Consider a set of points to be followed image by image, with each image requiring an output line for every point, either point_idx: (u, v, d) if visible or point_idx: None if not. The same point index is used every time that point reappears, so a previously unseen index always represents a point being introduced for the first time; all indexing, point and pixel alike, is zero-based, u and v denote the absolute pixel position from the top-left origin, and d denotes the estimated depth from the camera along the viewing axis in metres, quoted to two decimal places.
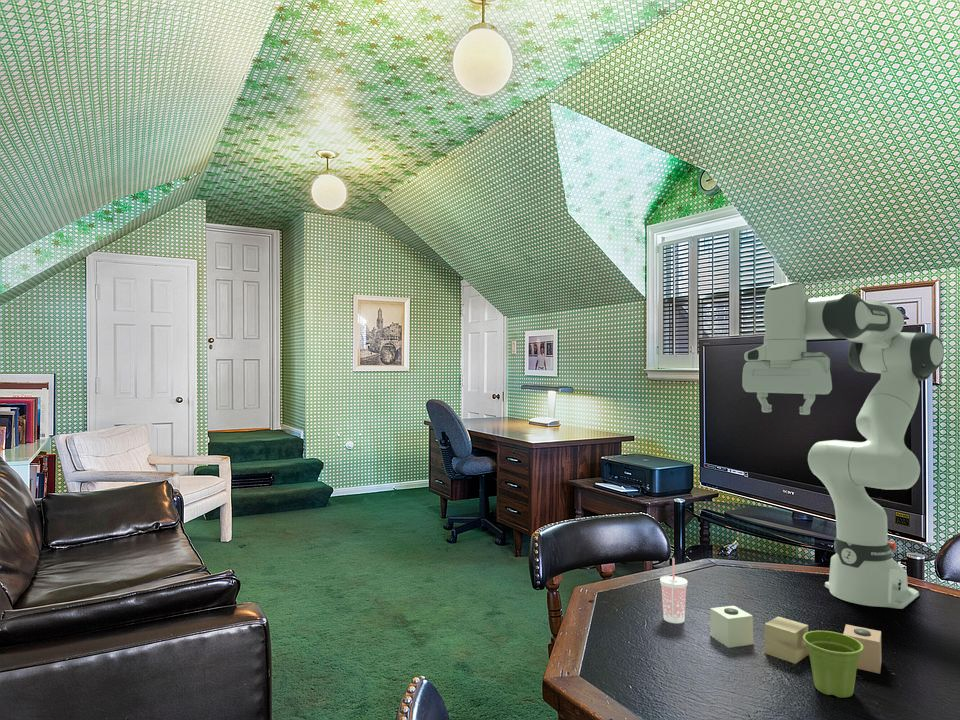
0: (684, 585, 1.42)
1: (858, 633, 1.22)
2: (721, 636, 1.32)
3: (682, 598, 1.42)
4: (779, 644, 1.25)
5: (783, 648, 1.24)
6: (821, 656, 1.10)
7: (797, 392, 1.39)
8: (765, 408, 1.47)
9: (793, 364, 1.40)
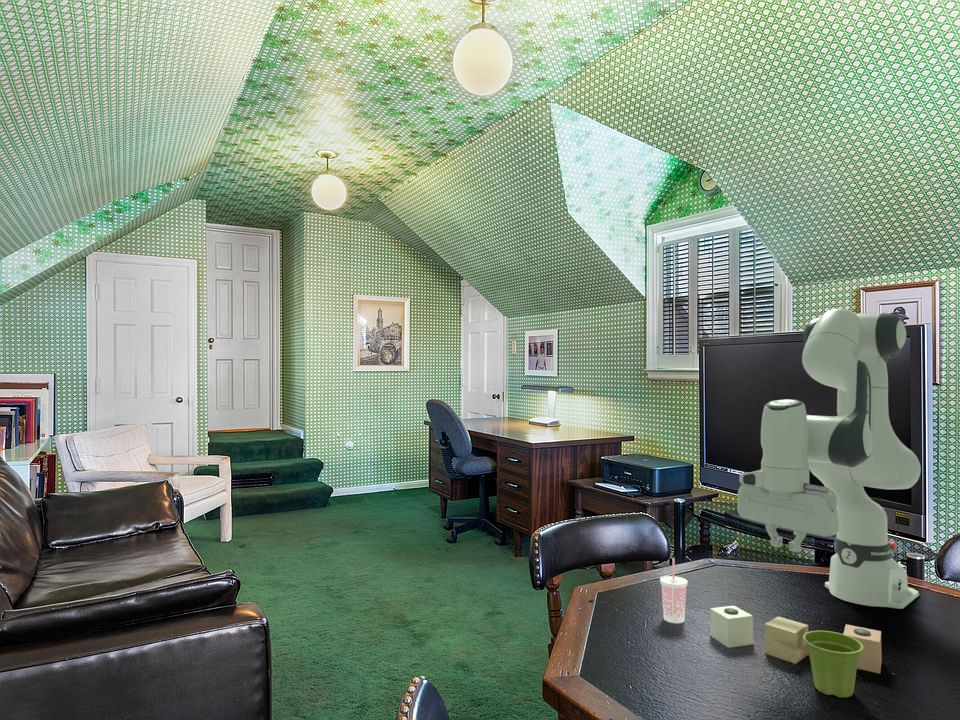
0: (684, 585, 1.42)
1: (858, 633, 1.22)
2: (721, 636, 1.32)
3: (682, 598, 1.42)
4: (779, 644, 1.25)
5: (783, 648, 1.24)
6: (821, 656, 1.10)
7: (799, 529, 1.23)
8: (775, 542, 1.28)
9: (794, 497, 1.23)
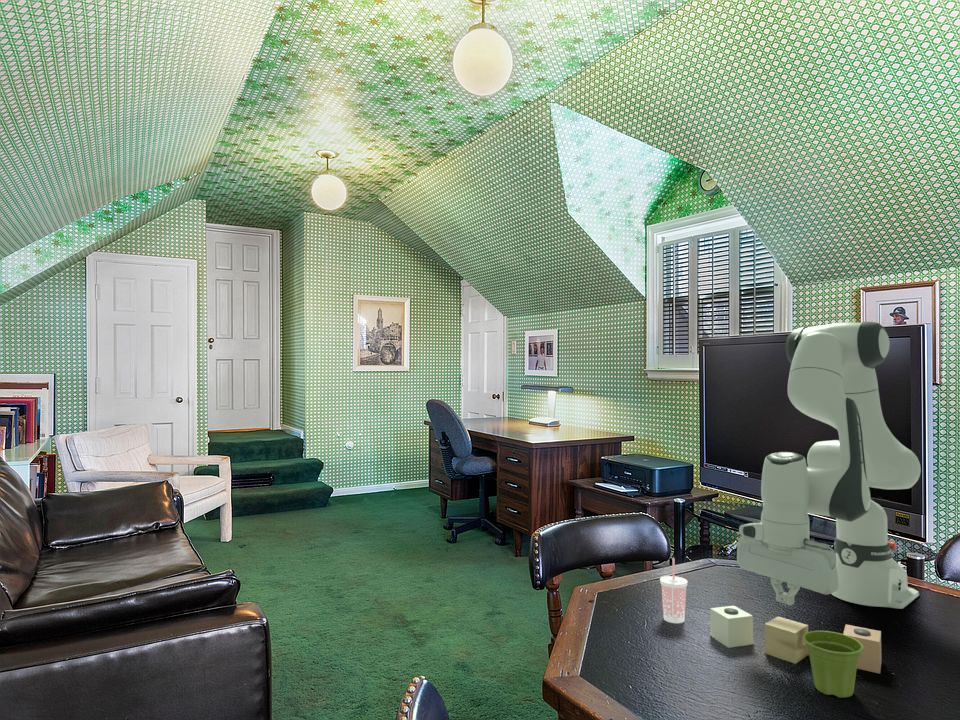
0: (684, 585, 1.42)
1: (858, 633, 1.22)
2: (721, 636, 1.32)
3: (682, 598, 1.42)
4: (779, 644, 1.25)
5: (783, 648, 1.24)
6: (821, 656, 1.10)
7: (799, 585, 1.22)
8: (780, 598, 1.27)
9: (794, 552, 1.23)
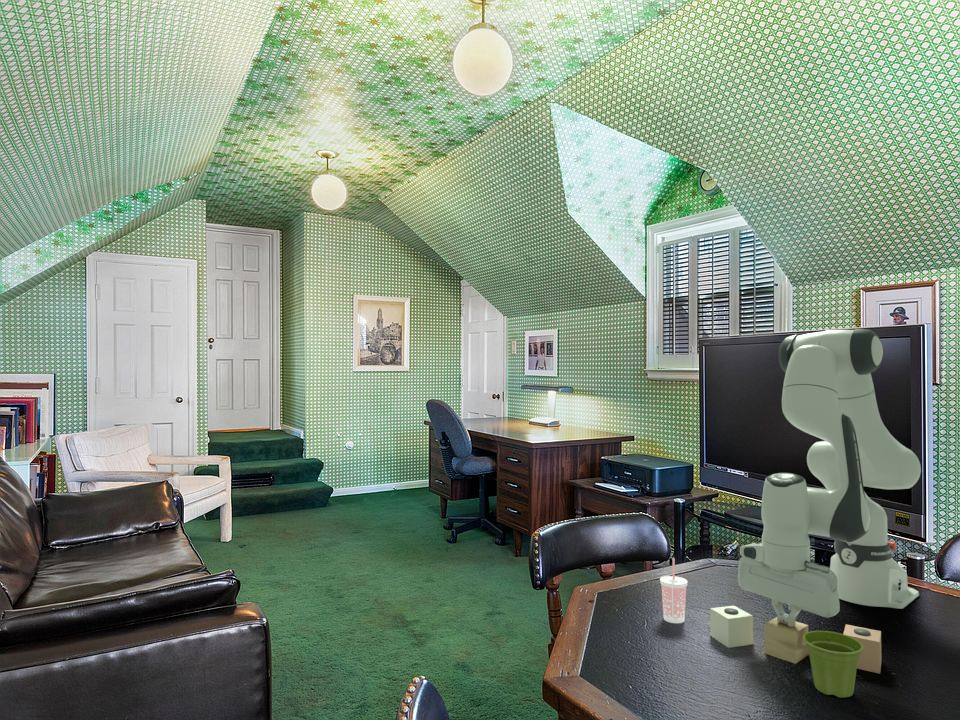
0: (684, 585, 1.42)
1: (858, 633, 1.22)
2: (721, 636, 1.32)
3: (682, 598, 1.42)
4: (779, 644, 1.25)
5: (783, 648, 1.24)
6: (821, 656, 1.10)
7: (800, 607, 1.22)
8: (781, 619, 1.27)
9: (795, 574, 1.23)
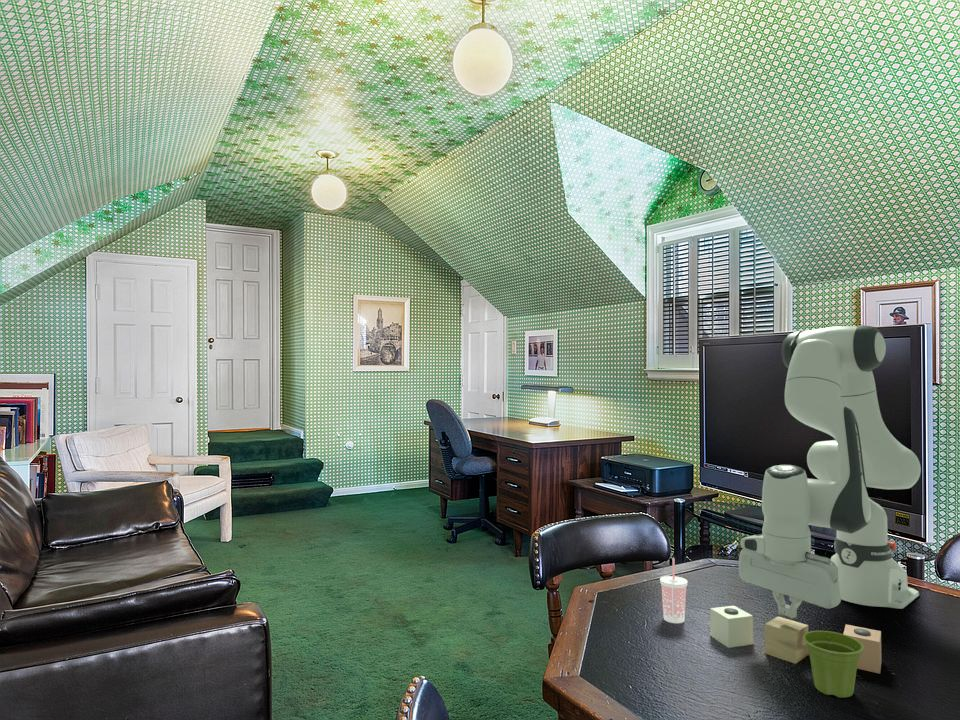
0: (684, 585, 1.42)
1: (858, 633, 1.22)
2: (721, 636, 1.32)
3: (682, 598, 1.42)
4: (779, 644, 1.25)
5: (783, 648, 1.24)
6: (822, 656, 1.10)
7: (801, 599, 1.23)
8: (782, 611, 1.27)
9: (796, 566, 1.23)
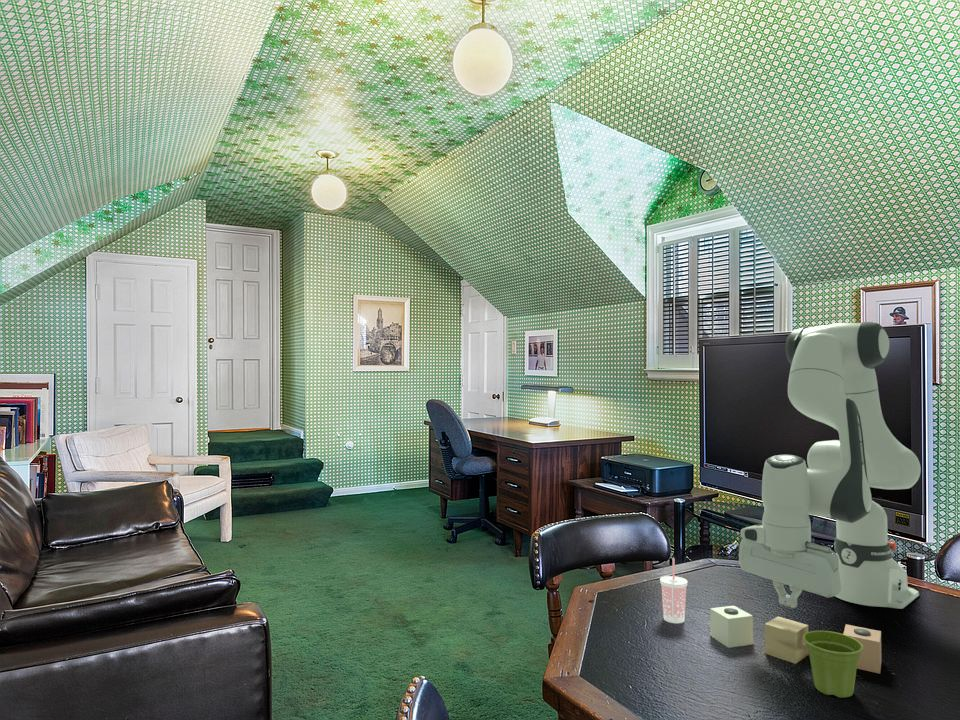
0: (684, 585, 1.42)
1: (858, 633, 1.22)
2: (721, 636, 1.32)
3: (682, 598, 1.42)
4: (779, 644, 1.25)
5: (783, 648, 1.24)
6: (821, 656, 1.10)
7: (801, 588, 1.23)
8: (783, 600, 1.27)
9: (796, 555, 1.23)
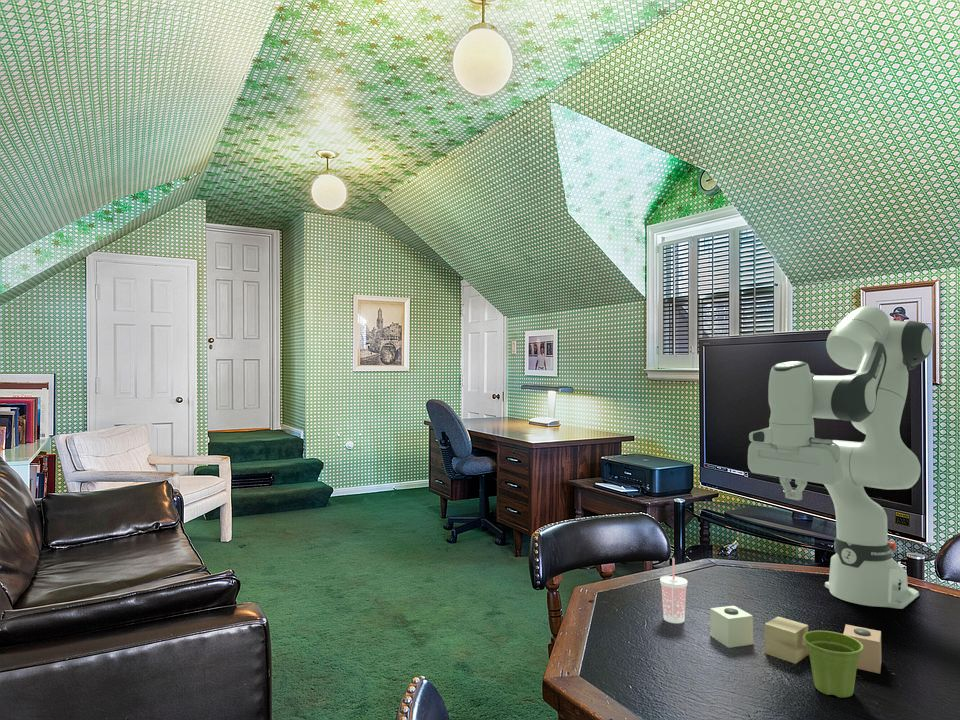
0: (684, 585, 1.42)
1: (858, 633, 1.22)
2: (721, 636, 1.32)
3: (682, 598, 1.42)
4: (779, 644, 1.25)
5: (783, 648, 1.24)
6: (821, 656, 1.10)
7: (806, 480, 1.33)
8: (789, 495, 1.37)
9: (801, 450, 1.34)
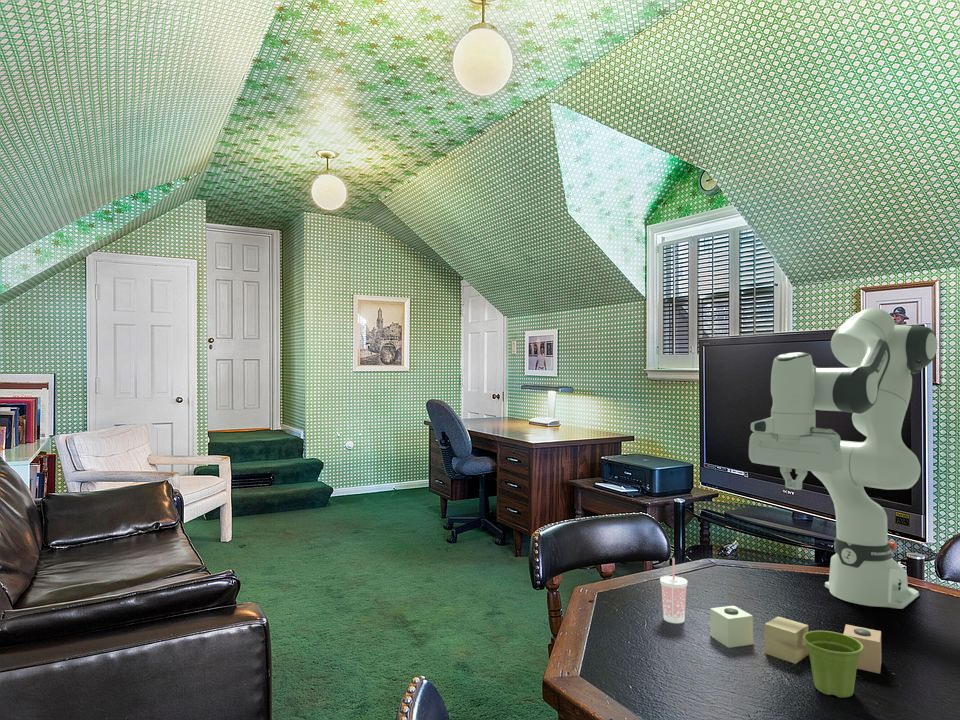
0: (684, 585, 1.42)
1: (858, 633, 1.22)
2: (721, 636, 1.32)
3: (682, 598, 1.42)
4: (779, 644, 1.25)
5: (783, 648, 1.24)
6: (822, 656, 1.10)
7: (806, 469, 1.34)
8: (789, 484, 1.38)
9: (802, 439, 1.35)
